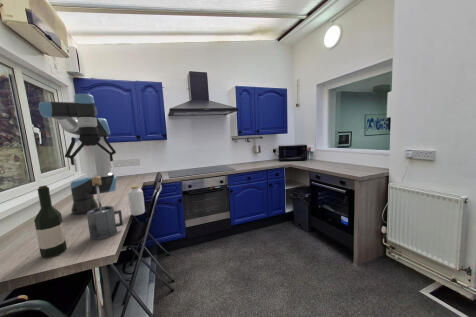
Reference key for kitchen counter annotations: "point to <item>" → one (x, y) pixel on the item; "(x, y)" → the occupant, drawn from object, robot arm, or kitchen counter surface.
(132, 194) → the white rounded cylinder
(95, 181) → the plunger
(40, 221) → the wine bottle
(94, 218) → the dark grey mug
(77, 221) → the kitchen counter surface
